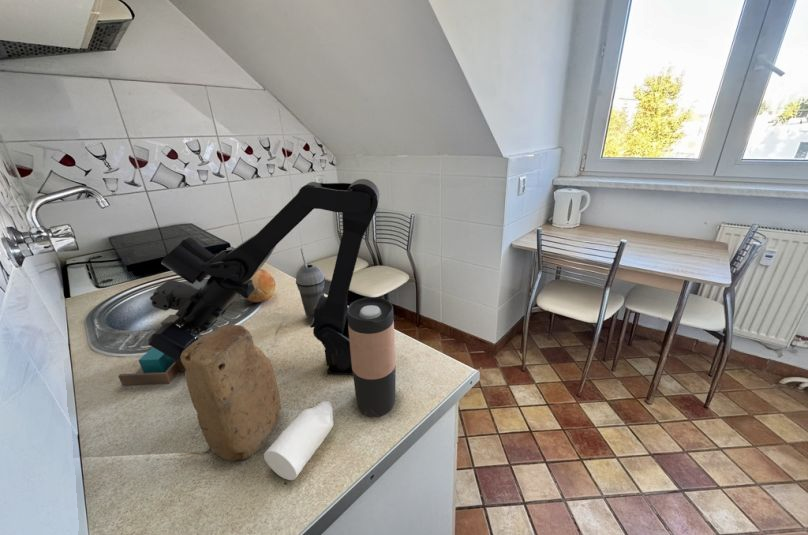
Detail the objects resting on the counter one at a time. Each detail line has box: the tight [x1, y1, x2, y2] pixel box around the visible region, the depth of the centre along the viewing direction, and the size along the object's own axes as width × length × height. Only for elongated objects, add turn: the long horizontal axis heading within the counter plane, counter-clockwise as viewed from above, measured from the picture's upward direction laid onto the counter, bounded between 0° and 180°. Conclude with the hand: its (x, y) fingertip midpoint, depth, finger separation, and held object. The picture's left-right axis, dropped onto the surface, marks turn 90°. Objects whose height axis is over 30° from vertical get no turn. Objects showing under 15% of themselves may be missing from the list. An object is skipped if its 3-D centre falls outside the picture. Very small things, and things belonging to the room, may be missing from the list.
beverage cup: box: [295, 248, 326, 324], centre depth 83 cm, size 7×7×20 cm
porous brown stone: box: [180, 324, 282, 462], centre depth 50 cm, size 11×8×20 cm
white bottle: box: [263, 400, 334, 481], centre depth 51 cm, size 6×12×6 cm, turn 156°
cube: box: [138, 348, 175, 373], centre depth 67 cm, size 4×4×4 cm
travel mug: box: [347, 296, 397, 418], centre depth 56 cm, size 8×8×20 cm
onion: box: [245, 268, 276, 303], centre depth 95 cm, size 10×10×10 cm
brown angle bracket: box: [118, 314, 186, 387], centre depth 66 cm, size 12×9×13 cm
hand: (174, 345), depth 66 cm, fingers closed on brown angle bracket, 3 cm apart
